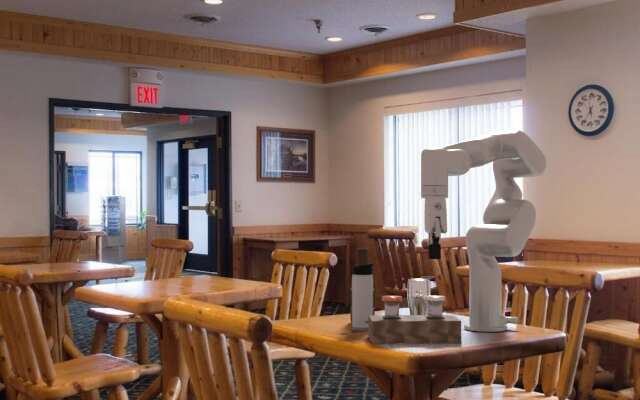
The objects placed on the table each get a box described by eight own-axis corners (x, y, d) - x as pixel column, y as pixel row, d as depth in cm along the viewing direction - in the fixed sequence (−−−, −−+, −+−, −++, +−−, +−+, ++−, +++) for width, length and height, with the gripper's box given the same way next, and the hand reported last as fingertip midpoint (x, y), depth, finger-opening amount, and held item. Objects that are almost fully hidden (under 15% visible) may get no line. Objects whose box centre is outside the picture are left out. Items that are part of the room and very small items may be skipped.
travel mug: (372, 331, 224) (372, 264, 224) (350, 331, 225) (350, 263, 226) (375, 328, 230) (375, 262, 231) (353, 328, 232) (353, 262, 232)
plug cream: (443, 324, 213) (443, 295, 213) (447, 327, 207) (447, 297, 207) (423, 324, 213) (423, 295, 213) (426, 327, 207) (426, 297, 207)
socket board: (452, 336, 216) (452, 315, 216) (461, 343, 204) (461, 320, 204) (368, 336, 215) (368, 315, 215) (372, 343, 203) (372, 321, 203)
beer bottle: (373, 324, 238) (373, 248, 239) (348, 324, 240) (348, 248, 240) (375, 321, 246) (375, 247, 247) (351, 320, 247) (351, 247, 248)
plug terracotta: (400, 324, 212) (400, 295, 213) (403, 327, 207) (403, 297, 207) (380, 325, 212) (380, 295, 212) (382, 327, 207) (382, 297, 207)
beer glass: (434, 328, 230) (433, 279, 231) (425, 331, 224) (425, 280, 225) (412, 326, 234) (412, 278, 234) (403, 329, 228) (403, 279, 228)
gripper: (453, 191, 203) (453, 260, 203) (443, 193, 218) (442, 257, 218) (425, 191, 203) (425, 260, 202) (417, 193, 218) (416, 257, 217)
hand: (434, 258), depth 210 cm, fingers closed
